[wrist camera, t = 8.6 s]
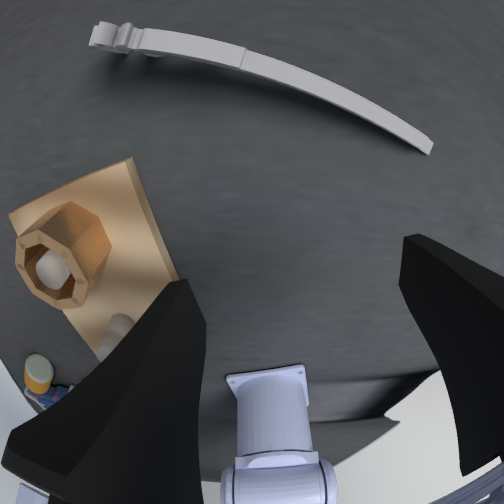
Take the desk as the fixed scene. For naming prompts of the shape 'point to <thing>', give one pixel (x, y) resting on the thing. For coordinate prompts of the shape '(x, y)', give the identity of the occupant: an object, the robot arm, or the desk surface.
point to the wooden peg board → (120, 258)
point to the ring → (64, 253)
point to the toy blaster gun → (42, 382)
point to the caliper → (251, 71)
